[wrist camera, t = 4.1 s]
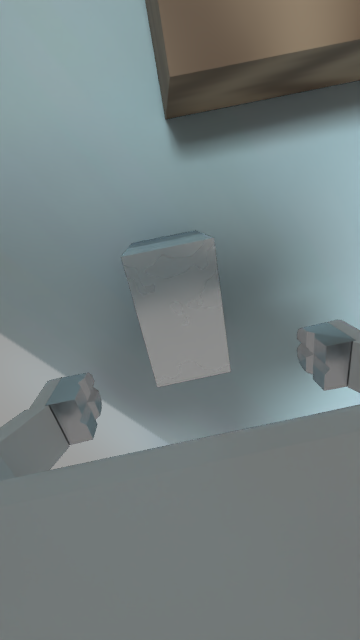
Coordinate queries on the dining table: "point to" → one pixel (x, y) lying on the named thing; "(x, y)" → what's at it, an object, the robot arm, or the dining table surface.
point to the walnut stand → (250, 49)
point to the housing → (179, 305)
